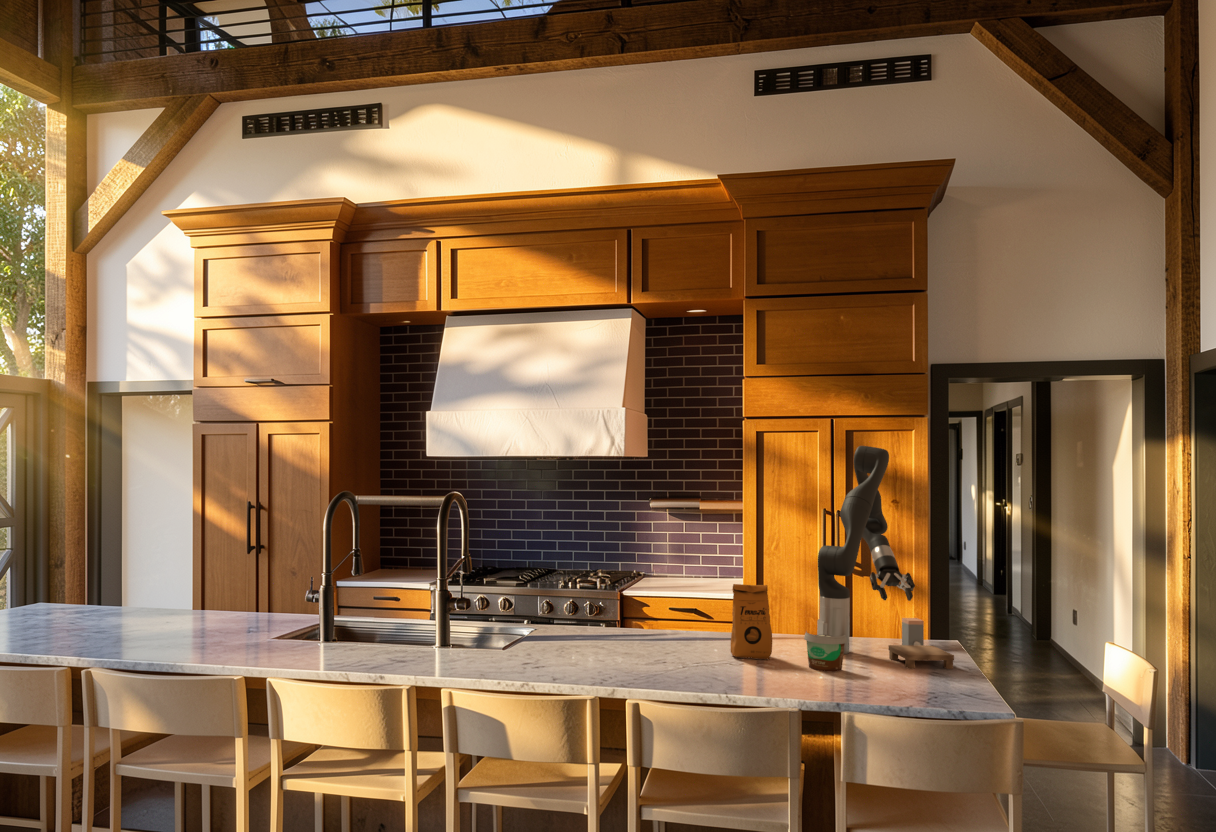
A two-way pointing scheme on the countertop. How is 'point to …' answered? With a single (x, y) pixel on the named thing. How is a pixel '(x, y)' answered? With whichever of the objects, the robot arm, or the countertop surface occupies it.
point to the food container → (825, 652)
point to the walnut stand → (920, 654)
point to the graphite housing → (912, 631)
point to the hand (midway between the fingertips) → (898, 599)
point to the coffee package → (751, 622)
